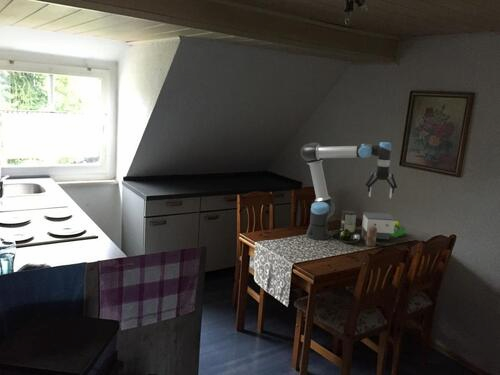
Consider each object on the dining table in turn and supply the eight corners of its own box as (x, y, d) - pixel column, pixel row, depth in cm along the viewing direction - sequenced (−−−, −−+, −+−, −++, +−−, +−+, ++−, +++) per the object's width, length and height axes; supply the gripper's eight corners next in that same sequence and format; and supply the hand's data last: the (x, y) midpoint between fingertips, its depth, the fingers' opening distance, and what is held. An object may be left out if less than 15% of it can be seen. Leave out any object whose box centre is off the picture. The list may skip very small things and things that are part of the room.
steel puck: (353, 240, 287) (354, 236, 286) (352, 238, 291) (353, 234, 291) (360, 240, 287) (360, 236, 286) (359, 238, 291) (359, 234, 290)
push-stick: (367, 245, 276) (369, 228, 274) (362, 238, 291) (364, 222, 288) (375, 246, 276) (377, 228, 273) (370, 239, 291) (371, 222, 288)
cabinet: (365, 242, 284) (367, 218, 281) (360, 234, 299) (363, 212, 296) (393, 243, 283) (396, 219, 280) (387, 236, 298) (389, 213, 295)
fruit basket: (396, 237, 297) (398, 222, 295) (385, 234, 304) (387, 219, 302) (405, 235, 303) (407, 220, 301) (395, 232, 310) (397, 217, 308)
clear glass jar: (337, 229, 309) (339, 211, 306) (345, 227, 316) (347, 209, 314) (349, 233, 302) (351, 214, 299) (357, 230, 309) (359, 212, 306)
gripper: (365, 165, 275) (361, 197, 279) (404, 167, 272) (400, 199, 277) (363, 164, 282) (360, 194, 286) (401, 166, 280) (397, 197, 284)
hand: (379, 197), depth 281 cm, fingers open, 13 cm apart
